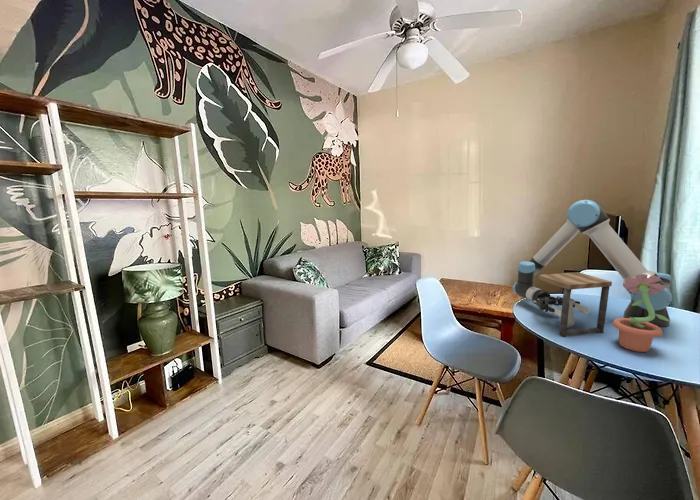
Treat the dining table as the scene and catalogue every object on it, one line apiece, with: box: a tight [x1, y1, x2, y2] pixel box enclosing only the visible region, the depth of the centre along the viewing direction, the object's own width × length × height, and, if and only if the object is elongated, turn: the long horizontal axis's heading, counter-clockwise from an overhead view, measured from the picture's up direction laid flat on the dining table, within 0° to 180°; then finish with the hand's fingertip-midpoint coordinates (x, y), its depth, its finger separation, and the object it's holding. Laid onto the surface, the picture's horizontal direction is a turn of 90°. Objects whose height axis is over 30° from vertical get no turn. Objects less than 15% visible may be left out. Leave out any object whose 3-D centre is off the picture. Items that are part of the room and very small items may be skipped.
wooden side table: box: [538, 271, 613, 338], centre depth 131 cm, size 20×16×23 cm
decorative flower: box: [612, 274, 671, 353], centre depth 111 cm, size 15×14×30 cm
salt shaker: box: [558, 297, 576, 329], centre depth 133 cm, size 6×6×13 cm
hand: (575, 312), depth 129 cm, fingers open, 12 cm apart
